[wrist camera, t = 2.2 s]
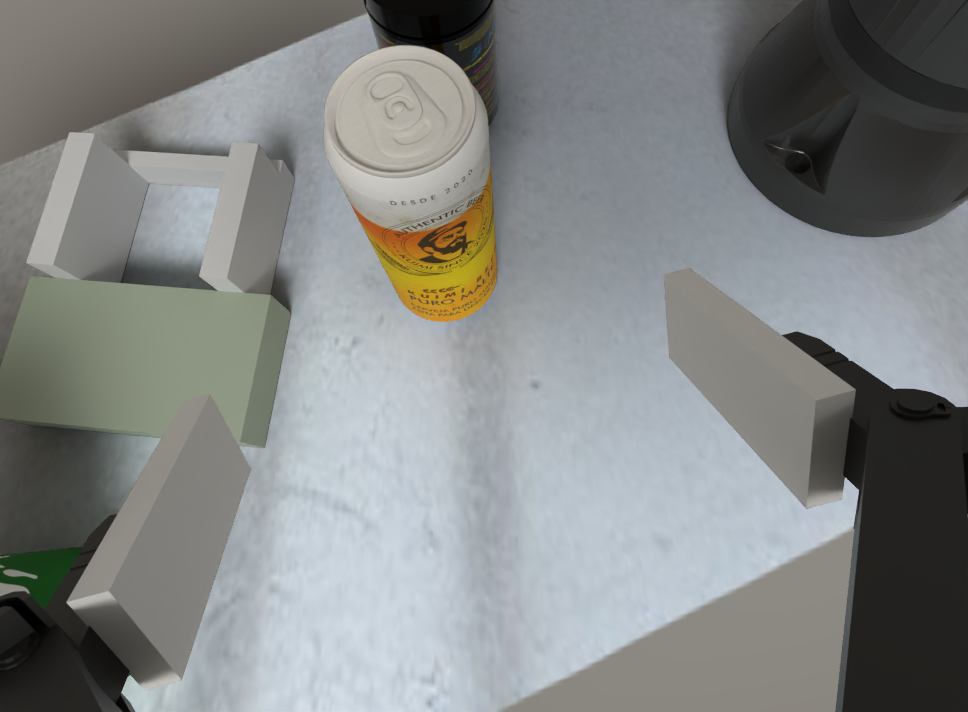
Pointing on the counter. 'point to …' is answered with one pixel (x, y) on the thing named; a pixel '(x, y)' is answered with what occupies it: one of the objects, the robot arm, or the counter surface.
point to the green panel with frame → (149, 299)
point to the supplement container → (445, 36)
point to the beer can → (418, 175)
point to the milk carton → (36, 572)
